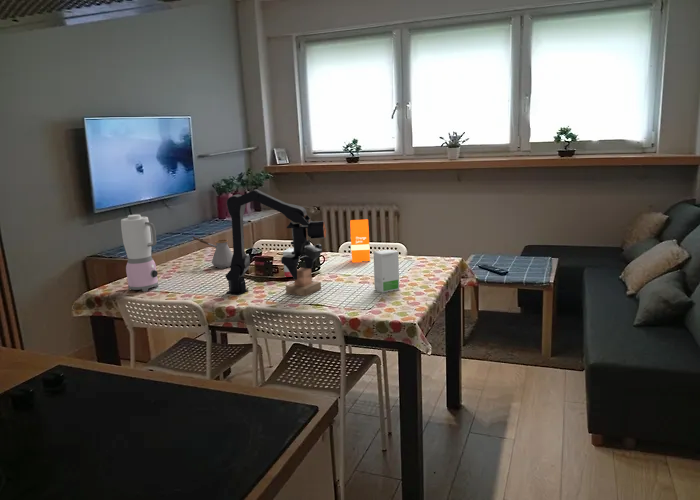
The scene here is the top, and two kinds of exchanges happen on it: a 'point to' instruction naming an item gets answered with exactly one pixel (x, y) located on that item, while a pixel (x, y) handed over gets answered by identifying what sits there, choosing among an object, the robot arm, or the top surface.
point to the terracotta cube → (303, 277)
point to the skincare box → (386, 270)
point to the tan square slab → (303, 288)
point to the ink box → (286, 271)
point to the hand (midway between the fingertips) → (302, 276)
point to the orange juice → (360, 240)
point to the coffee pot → (220, 253)
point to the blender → (139, 252)
